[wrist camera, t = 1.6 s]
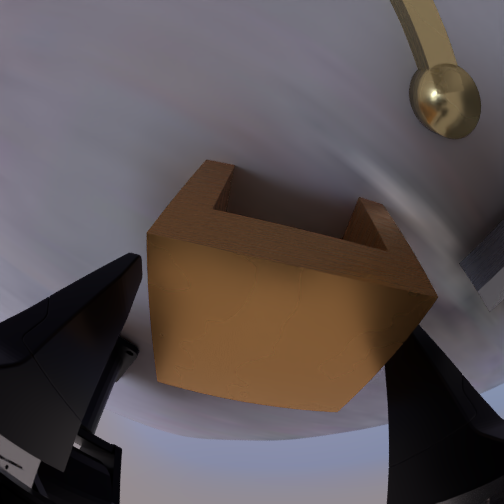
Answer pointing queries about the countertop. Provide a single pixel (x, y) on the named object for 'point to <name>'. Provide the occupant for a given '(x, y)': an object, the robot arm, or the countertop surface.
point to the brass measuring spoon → (437, 73)
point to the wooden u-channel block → (276, 300)
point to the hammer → (488, 267)
